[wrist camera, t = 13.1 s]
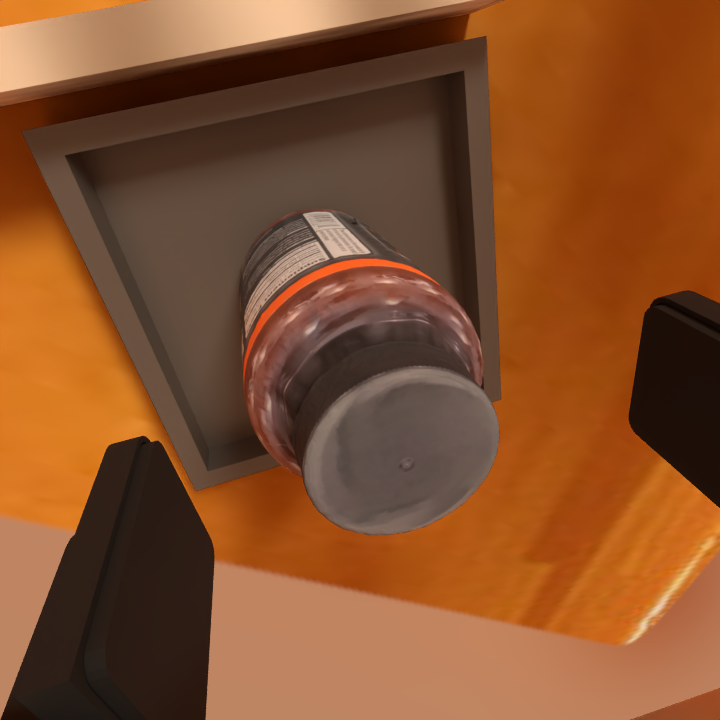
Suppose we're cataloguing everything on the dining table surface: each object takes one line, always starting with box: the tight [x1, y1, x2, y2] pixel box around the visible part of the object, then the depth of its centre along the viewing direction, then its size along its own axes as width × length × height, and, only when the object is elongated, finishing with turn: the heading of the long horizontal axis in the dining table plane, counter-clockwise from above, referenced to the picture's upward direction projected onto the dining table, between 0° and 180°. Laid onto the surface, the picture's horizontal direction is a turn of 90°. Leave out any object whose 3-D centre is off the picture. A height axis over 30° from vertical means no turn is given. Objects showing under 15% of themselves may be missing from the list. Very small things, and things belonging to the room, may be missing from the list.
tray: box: [21, 36, 501, 491], centre depth 19 cm, size 14×14×2 cm
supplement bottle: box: [239, 209, 499, 535], centre depth 14 cm, size 6×6×11 cm
